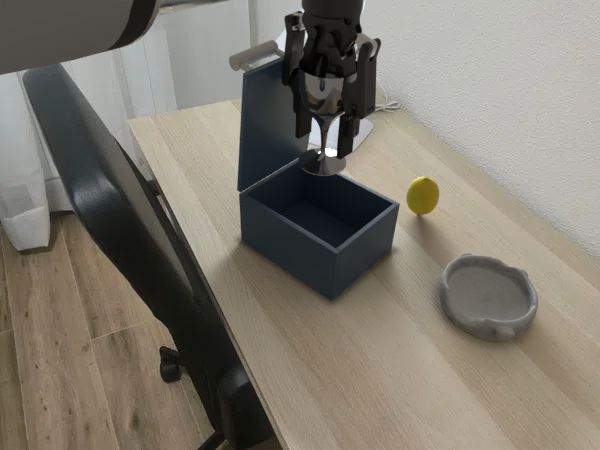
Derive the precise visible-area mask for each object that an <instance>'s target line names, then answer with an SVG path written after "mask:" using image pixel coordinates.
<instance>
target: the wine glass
mask: <svg viewBox="0 0 600 450" xmlns="http://www.w3.org/2000/svg"><path fill="white" fill-rule="evenodd" d="M345 55H346V54H345ZM345 55H343V56H345ZM343 56H341V57H343ZM301 60H302V59H301ZM301 60H300V61H299V64H298V85H299V93H300V97H301V101H302V104H303V106H304V108H305V109H306V111H307V112H308V113H309V114H310V115H311V116H312V117H313V118H312V119H314V121H315V122H316V123H317V126H318V128H319V131H320V147H316V148H310V149H307V151H305V152H304V153H302V154H301V155H300V157H299V159H298V163H299V165H300V167H301V168H302V169H303V170H305V171H306V172H308V173H311V174H314V175H320V176H329V175H334V174H337V173H339V172H340V173H342V172H343V171H344V170H345V169H346V167H347V163H348V162H347V159H346V156H345V157H344V158H342V159H341V160H340V159H338V158H336V154H337V150H335V149H331V148H327V143H328V137H329V132H330V130H331V127H332V125H333V124H335V122H336V121H337V120H339V119H340V116H341V115H343V114H344V113H345V111H344V106H343V97H344V91H345V81H347V82H349V83H352V82H353V81H355V80H356V77H357V73H355V74H354V75H351V76H349V77H345V78H338V77H337V72H336V68H335V67H333V65H332V61H331V57H329V56H327V55H326V54H325V53H322V56H321V58H320V61H319V63H318V66H317V68H316V71H315V73H314V75H313V76H312V75H309V74H307V73H305V72H304V71H302V70H301ZM355 66H356V71H357V59H356V60H355Z"/></svg>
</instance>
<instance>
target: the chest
mask: <svg viewBox="0 0 600 450" xmlns="http://www.w3.org/2000/svg"><path fill="white" fill-rule="evenodd" d="M298 159H299V158H298ZM298 159H296V160H294V161H293V162H291V163H289V164H288V165H286V166H284V167H283V168H281V169H279V170H278V171H276V172H274V173H273V174H271V175H269V176H268V177H266V178H264V179H263V180H261V181H259V182H258V183H256V184H254V185H253V186H251V187H249V188H248V189H246V190H244V191H243V192H241V193H240V192H239V193H238V199H239V221H240V241H241V242H243V243H244V244H246V245H247V246H249V247H251V248H252V249H253V250H255V251H257V252H258V253H260V255H262V256H264V257H266V258H267V259H269V260H270V261H271V262H273V263H274V264H276V265H277V266H279V267H280V268H282V269H283V270H285V271H286V272H287V273H289V274H291V275H292V276H293V277H295V278H297V279H299V280H300V281H301V282H302V283H304V284H306V285H307V286H308V287H310V288H311V289H313V290H314V291H316V292H317V293H318V294H320V295H322V296H324V297H325V298H326V299H328V300H329V301H331V302H333V301H334V300H335V299H336V298H338V297H339V296H340V295H341V294H342V293H343V292H345V291H346V290H347V289H348V288H349V287H350V286H351V285H353V284H354V283H355V282H356V281H357V280H358V279H360V277H362V276H363V275H364V274H365V273H366V272H368V271H369V270H370V269H371V268H372V267H374V265H375V264H377V263H378V262H379V261H380V260H382V259H383V258H384V257H385V256H386V255H387V254H388V253H389V252H390V251H391V250H392V248H393V242H394V237H395V232H396V227H397V222H398V216H399V211H400V206H401V203H400V202H398V201H396V200H394V199H392V198H390V197H388V196H386V195H385V194H383V193H381V192H379V191H377V190H375V189H373V188H371V187H369V186H367V185H365V184H364V183H361V182H359V181H358V180H355V179H354V178H352V177H350V176H348V175H346V174H344V173H342V172H339V173H337V174H334V175H329V176H320V175H314V174H311V173H308V172H306V171H305V170H303V169H302V168H301V167H300V165H299V163H298Z"/></svg>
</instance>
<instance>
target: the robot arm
mask: <svg viewBox="0 0 600 450" xmlns="http://www.w3.org/2000/svg"><path fill="white" fill-rule="evenodd" d="M228 1H229V0H0V76H3V75H7V74H13V73H17V72H18V73H19V72H23V71H27V70H32V69H37V68H42V67H47V66H52V65H57V64H61V63H66V62H71V61H75V60H79V59H82V58H87V57H90V56H94V55H98V54H100V53H105V52H110V51H114V50H117V49H122V48H124V47H128V46H131V45H133V44H135V43H136V42H138V41H140V40H141V39H142V38H143V37H144V36H145V35H147V33H148V31H149V30H150V29H151V28H152V26H153V25H154V23H155V20H156V18H157V17H158V16H163V15H167V14H173V13H178V12H182V11H186V10H190V9H196V8H199V7H205V6H210V5H214V4H218V3H224V2H228ZM365 3H366V0H301V3H300V4H301V8H302V10H303V11H301V10H297V11H295V12H292V13H289V14H286V15H285V16H284V19H283V20H284V26H285V33H286V34H285V43H284V51H283V52H284V62H283V71H282V83H283V85H284V86H287V85H288V86H289V87H290V88H291V91H292V93H293V111H294V113H296V129H295V137H296V138H298V139H300V138H302V137H303V136H305V135H307V134H309V133H310V134H311V133H312V129H313V128H312V126H313V125H312V124H313V118H312V116H311V115H310V114H309V113H308V112H307V111H306V109H305V108H304V106H303V104H302V101H301V97H300V93H299V85H298V64H299V61H300V60H301V59H302V60H301V70H302V71H304V72H305V73H307V74H309V75H312V76H313V75H314V73H315V71H316V68H317V66H318V63H319V61H320V58H321V56H322V53H325V54H326V55H327V56H329V57H331V61H332V65H333V67H335V68H336V72H337V77H338V78H345V77H349V76H351V75H354V74H355V73H357V77H356V80H355V81H353V82H352V83H349V82H347V81H345V91H344V97H343V106H344V111H345V113H344V114H343V115H341V116H340V118H339V119H338V120H339V121H338V130H337V143H336V144H337V145H336V151H337V154H336V158H338V159H340V160H341V159H342V158H344V157H345V158H346V157H347V156H348V155H350V154H352V153H353V151H354V150H353V149H354V141H355V138H356V137H358V135H359V133H360V127H361V121H362V120H364V119H366V118H368V117H369V116H370V115H372V114H374V113H375V112H376V106H377V105H376V103H377V101H376V100H377V99H376V98H377V64H378V63H377V60H378V59H377V58H378V55H379V53H380V49H381V46H382V40H381V39H380V38H379V37H374V38H371V37H369V36H368V35H366V34H364V33H363V28H362V24H361V17H362V14H363V12H364V9H365ZM306 34H307V38H306ZM305 39H306V40H305ZM355 45H356V47H357V49H356V47H355ZM303 47H304V49H303ZM303 52H304V54H303ZM302 55H303V57H302ZM343 55H345V56H343ZM341 56H343V57H341ZM355 60H356V61H357V71H356V66H355Z"/></svg>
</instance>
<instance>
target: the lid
mask: <svg viewBox="0 0 600 450" xmlns="http://www.w3.org/2000/svg"><path fill="white" fill-rule="evenodd" d="M303 49H304V47H303ZM284 52H285V51H284V50H282V49H280V48H279V44H278V42H277V41H276V40H274V39H270V40H267V41H265V42H262V43H259V44H257V45H255V46H252V47H250V48H247V49H245V50H242V51H239V52H236V53H234V54H232V55H230V56H229V58H228V64H229V67H230V68H231V70H233V71H234V72H239V71H243V73H242V84H241V85H242V89H241V105H240V106H241V107H240V126H239V127H240V128H239V145H238V146H239V147H238V165H237V181H236V182H237V185H236V191H237V192H239V194H240V193H242V192H243V191H245V190H247V189H248V188H250V187H252V186H253V185H255V184H257V183H258V182H260V181H262V180H263V179H265V178H267V177H268V176H270V175H272V174H273V173H275V172H277V171H278V170H280V169H281V168H283V167H285V166H286V165H288V164H290V163H291V162H293V161H295V160H296V159H298V158H299V157H300V155H301V154H302V153H304V152H305V151H307V150H309V149H308V148H309V144H310V143H309V142H310V136H311V132H310V133H309V134H307V135H305V136H303V137H302V138H300V139H298V138H296V137H295V129H296V113H294V111H293V93H292V91H291V88H290V87H289V86H288V85H287V86H284V85H283V83H282V71H283V62H284ZM303 54H304V52H303ZM274 56H277V57H278V58H275V59H273V60H270V61H268V62H266V63H264V64H261V65H259V66H257V67H254V68H253V67H251V66H252V65H255V64H257V63H260V62H263V61H265V60H267V59H269V58H272V57H274ZM302 57H303V55H302ZM312 119H314V118H313V117H312Z"/></svg>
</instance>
